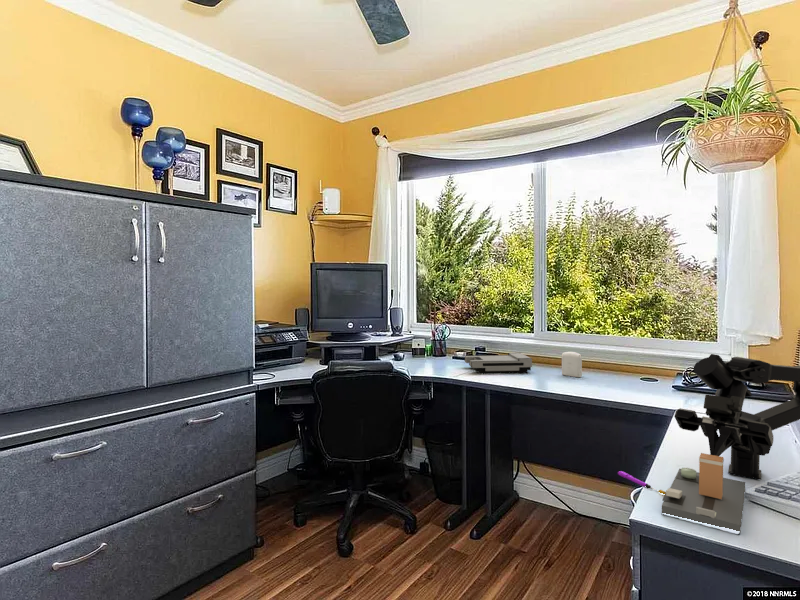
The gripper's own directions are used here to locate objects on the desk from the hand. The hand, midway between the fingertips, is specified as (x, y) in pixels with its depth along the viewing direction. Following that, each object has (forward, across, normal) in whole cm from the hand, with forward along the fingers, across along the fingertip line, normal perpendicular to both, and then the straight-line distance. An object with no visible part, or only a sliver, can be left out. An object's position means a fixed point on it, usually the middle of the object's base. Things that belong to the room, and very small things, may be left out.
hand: (713, 457), depth 107 cm
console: (+11, +1, 0) cm, 11 cm away
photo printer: (-64, -91, +76) cm, 135 cm away
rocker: (+14, -3, -8) cm, 17 cm away
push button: (+5, -4, +2) cm, 7 cm away
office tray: (-53, -127, +65) cm, 152 cm away
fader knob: (+10, +2, -2) cm, 10 cm away
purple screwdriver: (+12, -10, 0) cm, 16 cm away
